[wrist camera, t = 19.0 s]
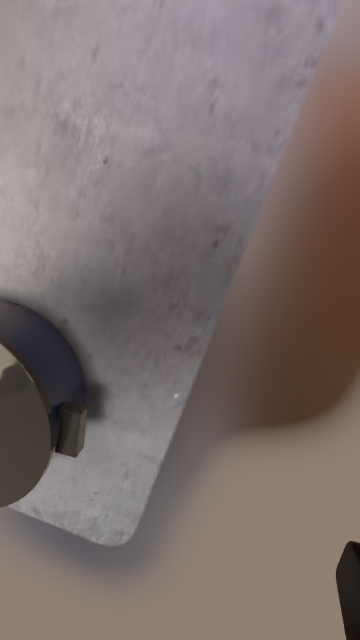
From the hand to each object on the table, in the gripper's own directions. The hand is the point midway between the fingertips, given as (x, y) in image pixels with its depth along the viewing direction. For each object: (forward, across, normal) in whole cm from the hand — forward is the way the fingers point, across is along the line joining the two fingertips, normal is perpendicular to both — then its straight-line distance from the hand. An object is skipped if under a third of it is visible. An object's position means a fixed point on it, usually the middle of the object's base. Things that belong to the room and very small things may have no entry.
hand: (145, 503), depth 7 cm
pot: (+13, +13, +6) cm, 20 cm away
